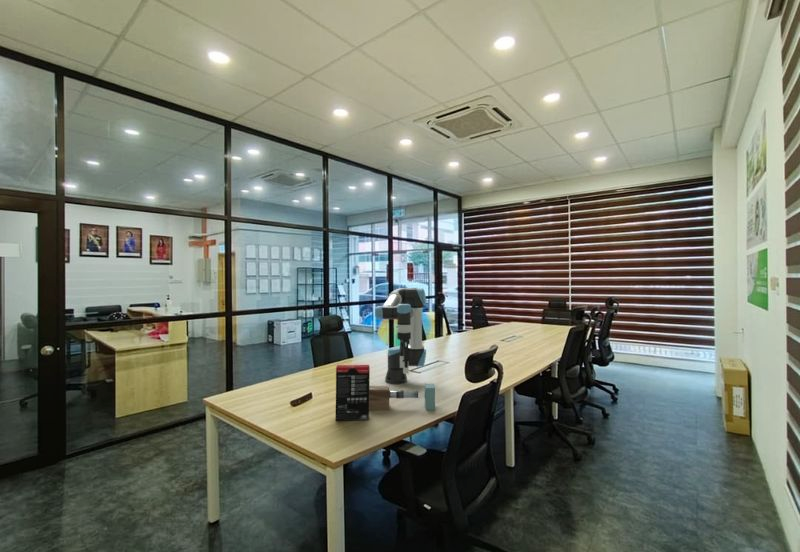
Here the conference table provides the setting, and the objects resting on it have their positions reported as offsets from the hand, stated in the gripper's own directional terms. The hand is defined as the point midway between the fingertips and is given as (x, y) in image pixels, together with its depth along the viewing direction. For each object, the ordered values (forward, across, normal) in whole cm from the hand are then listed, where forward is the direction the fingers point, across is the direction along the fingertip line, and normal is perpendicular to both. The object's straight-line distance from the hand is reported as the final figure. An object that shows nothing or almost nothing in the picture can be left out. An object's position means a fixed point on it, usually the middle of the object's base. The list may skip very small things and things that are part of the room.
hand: (404, 370), depth 201 cm
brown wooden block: (+20, -2, -14) cm, 25 cm away
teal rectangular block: (+20, +2, +14) cm, 25 cm away
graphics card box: (+21, +12, -28) cm, 37 cm away
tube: (+15, -1, -5) cm, 16 cm away
